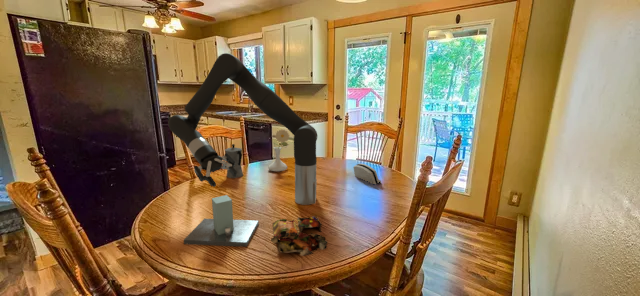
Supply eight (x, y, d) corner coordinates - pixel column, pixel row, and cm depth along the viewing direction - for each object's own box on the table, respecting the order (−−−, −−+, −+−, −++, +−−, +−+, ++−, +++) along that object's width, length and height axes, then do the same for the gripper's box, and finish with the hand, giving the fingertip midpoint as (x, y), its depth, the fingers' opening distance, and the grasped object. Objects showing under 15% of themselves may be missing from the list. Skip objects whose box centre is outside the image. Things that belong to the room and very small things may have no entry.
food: (333, 254, 81) (333, 243, 80) (271, 262, 77) (270, 251, 76) (318, 220, 102) (318, 211, 101) (268, 225, 98) (268, 216, 97)
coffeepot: (221, 174, 150) (219, 143, 146) (237, 171, 157) (235, 141, 153) (234, 181, 140) (232, 148, 136) (250, 177, 146) (248, 145, 142)
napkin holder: (381, 183, 141) (378, 167, 137) (375, 187, 139) (371, 171, 135) (361, 174, 155) (357, 159, 151) (355, 178, 153) (351, 163, 149)
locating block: (228, 224, 93) (226, 195, 91) (233, 230, 89) (231, 199, 87) (214, 228, 90) (211, 198, 88) (218, 234, 86) (216, 203, 84)
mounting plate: (258, 224, 96) (258, 214, 96) (246, 246, 83) (246, 235, 82) (204, 222, 97) (203, 212, 96) (184, 244, 84) (182, 232, 83)
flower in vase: (265, 172, 156) (264, 130, 150) (272, 166, 167) (271, 127, 161) (287, 173, 154) (286, 131, 148) (292, 168, 164) (292, 128, 159)
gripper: (184, 152, 98) (207, 183, 92) (219, 138, 107) (243, 166, 102) (185, 164, 103) (207, 194, 98) (219, 150, 112) (241, 177, 107)
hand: (225, 180), depth 100 cm, fingers open, 8 cm apart
